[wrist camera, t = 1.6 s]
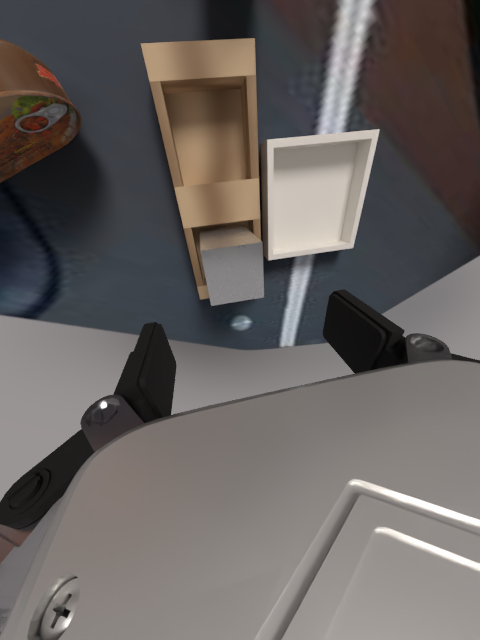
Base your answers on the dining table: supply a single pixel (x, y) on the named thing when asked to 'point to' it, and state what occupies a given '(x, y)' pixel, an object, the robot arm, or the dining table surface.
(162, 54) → the wooden compartment tray
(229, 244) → the gray rectangular block
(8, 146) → the tin
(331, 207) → the dish
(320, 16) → the dining table surface
